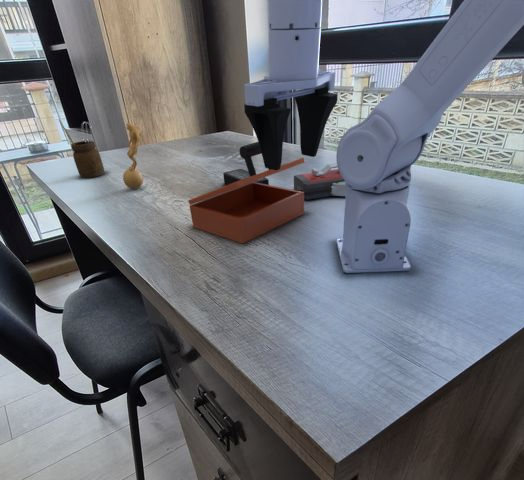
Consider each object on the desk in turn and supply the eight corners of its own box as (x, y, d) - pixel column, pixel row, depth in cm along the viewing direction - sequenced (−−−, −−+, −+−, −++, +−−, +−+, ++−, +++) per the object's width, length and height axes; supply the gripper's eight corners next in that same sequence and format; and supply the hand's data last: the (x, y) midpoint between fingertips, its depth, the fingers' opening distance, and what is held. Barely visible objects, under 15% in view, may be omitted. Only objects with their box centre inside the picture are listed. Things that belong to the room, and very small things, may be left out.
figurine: (123, 185, 84) (105, 122, 76) (150, 180, 86) (136, 118, 78) (129, 195, 78) (110, 128, 70) (158, 190, 80) (143, 123, 72)
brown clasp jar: (107, 175, 92) (89, 117, 84) (79, 180, 90) (59, 121, 83) (103, 170, 96) (87, 114, 89) (77, 174, 94) (58, 118, 87)
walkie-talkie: (302, 205, 67) (406, 189, 70) (302, 179, 64) (410, 162, 67) (286, 191, 73) (382, 176, 77) (286, 166, 70) (385, 152, 74)
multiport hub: (242, 179, 82) (241, 168, 80) (270, 191, 74) (269, 178, 73) (223, 184, 80) (222, 172, 78) (250, 196, 72) (249, 183, 71)
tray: (304, 213, 64) (304, 191, 61) (242, 243, 56) (240, 220, 54) (254, 201, 70) (252, 181, 68) (193, 227, 62) (189, 205, 60)
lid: (304, 162, 59) (296, 128, 57) (237, 187, 51) (224, 149, 49) (253, 181, 68) (244, 152, 66) (189, 205, 60) (177, 173, 58)
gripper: (306, 26, 48) (301, 145, 57) (221, 31, 40) (231, 168, 49) (354, 26, 45) (341, 153, 54) (271, 31, 37) (272, 180, 46)
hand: (291, 161), depth 51 cm, fingers open, 7 cm apart
